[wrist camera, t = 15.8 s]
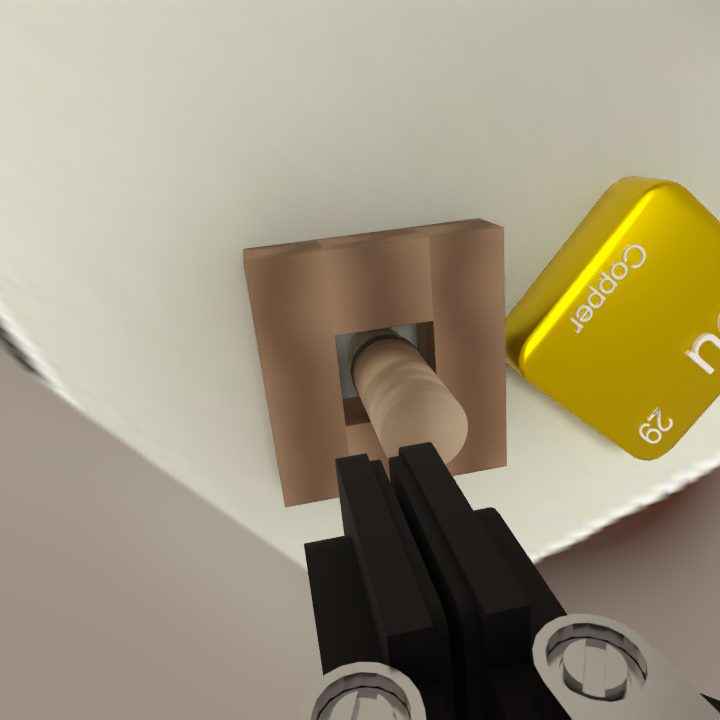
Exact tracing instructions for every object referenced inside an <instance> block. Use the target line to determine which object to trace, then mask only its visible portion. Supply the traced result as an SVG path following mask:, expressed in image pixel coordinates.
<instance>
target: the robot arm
mask: <svg viewBox="0 0 720 720" xmlns="http://www.w3.org/2000/svg"><path fill="white" fill-rule="evenodd" d="M335 466H336V474H337V481H338V489H339V497H340V504H341V512H342V520H343V527H344V535H345V536H341V537H336V538H331V539H326V540H321V541H316V542H311V543H306V544H304V548H305V554H306V561H307V568H308V575H309V582H310V588H311V595H312V602H313V609H314V615H315V622H316V629H317V635H318V642H319V649H320V655H321V663H322V670H323V677H322V678H321V679H320V680H319V681H317V682H316V683H315V684H314V685H313V686H312V687H311V688H310V690H309V692H308V693H307V695H306V697H305V698H304V700H303V702H302V704H301V708H300V712H299V717H298V720H720V701H719V700H716V699H713V698H711V697H708V696H706V695H703V694H701V693H699V692H698V691H697V690H696V689H695V688H694V687H692V685H690V683H688V682H687V681H686V680H685V679H684V678H683V677H682V676H681V675H680V674H679V673H678V672H677V671H676V670H675V669H674V668H673V667H672V666H671V665H670V664H669V663H668V662H667V661H666V660H665V659H664V658H663V657H662V656H661V655H660V654H659V653H658V652H657V651H656V650H655V649H654V648H653V647H652V646H651V645H650V644H649V643H648V642H647V641H646V640H645V639H643V638H642V637H641V636H640V635H638V634H637V633H636V632H634V631H633V630H632V629H631V628H629V627H627V626H625V625H623V624H621V623H619V622H617V621H614V620H613V619H609V618H605V617H601V616H597V615H593V614H571V615H567V614H566V612H565V611H564V609H563V608H562V606H561V605H560V603H559V602H558V600H557V599H556V597H555V596H554V594H553V593H552V592H551V590H550V589H549V587H548V585H547V584H546V582H545V581H544V579H543V578H542V576H541V575H540V574H539V572H538V571H537V569H536V567H535V566H534V564H533V563H532V561H531V560H530V559H529V557H528V556H527V554H526V553H525V551H524V550H523V548H522V547H521V545H520V544H519V542H518V541H517V539H516V538H515V536H514V535H513V533H512V532H511V530H510V529H509V527H508V526H507V524H506V523H505V521H504V520H503V518H502V517H501V515H500V514H499V513H498V512H497V511H496V509H494V508H492V507H490V508H484V509H479V510H474V511H473V509H472V508H471V506H470V504H469V503H468V501H467V499H466V498H465V496H464V495H463V493H462V491H461V490H460V488H459V486H458V485H457V483H456V481H455V480H454V478H453V477H452V475H451V473H450V472H449V470H448V468H447V467H446V465H445V463H444V462H443V460H442V458H441V457H440V455H439V454H438V452H437V450H436V449H435V447H434V445H433V444H432V443H431V442H426V443H420V444H415V445H409V446H403V447H399V452H398V456H395V457H389V474H390V481H389V479H388V476H387V474H386V471H385V469H384V467H383V464H382V462H381V460H380V459H378V460H373V461H370V460H369V457H368V455H367V453H364V454H359V455H353V456H347V457H342V458H336V459H335Z"/></svg>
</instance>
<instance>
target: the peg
mask: <svg viewBox="0 0 720 720" xmlns="http://www.w3.org/2000/svg"><path fill="white" fill-rule="evenodd" d="M348 358H349V362H350V364H351V376H352V380H353V384H354V386H355V389H356V391H357V393H358V395H359V396H360V398H361V400H362V403H363V405H364V407H365V409H366V412H367V414H368V416H369V418H370V421H371V423H372V425H373V427H374V430H375V432H376V434H377V437H378V439H379V441H380V443H381V446H382V448H383V450H384V452H385V454H386V456H387V457H388V459H389V457H395V456H398V452H399V447H403V446H409V445H415V444H420V443H426V442H431V443H432V444H433V445H434V447H435V449H436V450H437V452H438V454H439V455H440V457H441V458H442V460H443V462H444V463H445V464H447V463H448V462H450V461H451V460H452V459H453V458H454V457H455V456H456V455H457V454H458V453H459V451H460V450H461V448H462V447H463V445H464V443H465V440H466V437H467V432H468V421H467V417H466V414H465V412H464V410H463V408H462V406H461V405H460V404H459V403H458V401H457V400H456V399H455V398H454V396H453V395H452V394H451V393H450V391H449V390H448V389H447V388H446V386H445V385H444V384H443V383H442V381H441V380H440V379H439V378H438V376H437V375H436V374H435V373H434V371H433V370H432V369H431V368H430V366H429V365H428V364H427V363H426V361H425V360H424V359H423V357H422V355H421V354H420V352H419V351H418V350H417V349H416V348H415V346H413V345H412V344H411V343H410V342H409V341H408V340H406V339H405V338H403V337H400V336H399V335H398V334H397V332H396V331H394V330H393V329H391V328H390V327H389V328H382V329H375V330H369V331H362V332H358V333H357V334H356V335H355V336H354V337H353V339H352V340H351V342H350V345H349V349H348Z"/></svg>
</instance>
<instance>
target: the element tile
mask: <svg viewBox="0 0 720 720" xmlns="http://www.w3.org/2000/svg"><path fill="white" fill-rule="evenodd" d="M505 362H506V363H507V364H508V365H509V366H510V367H512V368H513V369H514V370H515V371H516V372H517V373H519V374H520V375H521V376H522V377H523V378H524V379H525V380H527V381H528V382H529V383H531V384H532V385H533V386H535V387H536V388H538V389H539V390H540V391H542V392H543V393H545V394H546V395H547V396H549V397H550V398H552V399H553V400H554V401H556V402H557V403H559V404H560V405H561V406H563V407H564V408H566V409H567V410H568V411H570V412H571V413H573V414H574V415H575V416H577V417H578V418H580V419H581V420H582V421H584V422H585V423H587V424H588V425H589V426H591V427H592V428H594V429H595V430H596V431H598V432H599V433H601V434H602V435H603V436H605V437H606V438H608V439H609V440H611V441H612V442H613V443H615V444H616V445H618V446H619V447H620V448H622V449H623V450H625V451H626V452H627V453H629V454H630V455H632V456H633V457H635V458H638V459H641V460H648V461H649V460H653V459H658V458H659V457H661V456H663V455H664V454H666V453H667V452H668V451H670V450H671V449H672V448H673V447H674V446H675V445H676V443H677V442H678V441H679V440H680V439H681V438H682V437H683V436H684V434H685V433H686V432H687V431H688V430H689V429H690V428H691V426H692V425H693V424H694V423H695V422H696V421H697V420H698V419H699V417H700V416H701V415H702V414H703V413H704V412H705V411H706V410H707V408H708V407H709V406H710V405H711V404H712V403H713V402H714V401H715V399H716V398H717V397H718V396H719V395H720V222H719V221H718V220H717V219H716V218H715V217H714V216H713V215H712V214H711V213H710V212H709V211H708V210H707V209H706V208H705V207H704V206H703V205H702V204H701V203H700V202H699V201H698V200H697V199H696V198H695V197H694V196H693V195H692V194H691V193H690V192H689V191H688V190H687V189H686V188H684V187H683V186H681V185H680V184H678V183H675V182H672V181H668V180H660V179H650V178H641V177H628V178H622V179H621V180H619V181H618V182H616V183H614V184H613V185H612V186H611V187H610V188H609V189H608V190H607V191H606V192H605V193H604V194H603V195H602V197H601V198H600V199H599V200H598V202H597V203H596V204H595V206H594V207H593V208H592V209H591V211H590V212H589V213H588V215H587V216H586V217H585V218H584V220H583V221H582V222H581V223H580V225H579V226H578V227H577V229H576V230H575V231H574V232H573V234H572V235H571V236H570V237H569V239H568V240H567V241H566V243H565V244H564V245H563V246H562V248H561V249H560V250H559V251H558V253H557V254H556V255H555V257H554V258H553V259H552V260H551V262H550V263H549V264H548V265H547V267H546V268H545V269H544V271H543V272H542V273H541V274H540V276H539V277H538V278H537V280H536V281H535V282H534V283H533V285H532V286H531V287H530V288H529V290H528V291H527V292H526V294H525V295H524V296H523V297H522V299H521V300H520V301H519V302H518V304H517V305H516V306H515V308H514V309H513V310H512V311H511V313H510V314H509V315H508V316H507V318H506V319H505Z"/></svg>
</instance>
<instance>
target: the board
mask: <svg viewBox="0 0 720 720" xmlns="http://www.w3.org/2000/svg"><path fill="white" fill-rule="evenodd" d="M243 262H244V268H245V274H246V280H247V286H248V291H249V297H250V303H251V309H252V315H253V321H254V327H255V333H256V338H257V344H258V350H259V356H260V362H261V368H262V374H263V380H264V385H265V391H266V397H267V403H268V409H269V415H270V421H271V427H272V432H273V438H274V444H275V450H276V456H277V462H278V468H279V474H280V479H281V485H282V491H283V497H284V503H285V507H290V506H295V505H301V504H306V503H311V502H317V501H322V500H327V499H333V498H338V497H339V489H338V481H337V474H336V466H335V459H336V458H342V457H347V456H353V455H359V454H364V453H367V455H368V457H369V460H370V461H373V460H378V459H380V460H381V462H382V464H383V467H384V469H385V471H386V474H387V476H388V479H389V481H390V474H389V459H388V457H387V456H386V454H385V452H384V450H383V448H382V446H381V443H380V441H379V439H378V437H377V434H376V432H375V430H374V427H373V425H372V423H371V421H370V418H369V416H368V414H367V412H366V409H365V407H364V405H363V403H362V400H361V398H360V397H355V398H349V399H342V391H341V383H340V374H339V366H338V358H337V350H336V341H335V336H336V335H343V334H349V333H356V332H362V331H369V330H375V329H382V328H389V327H395V326H402V325H408V324H415V323H417V326H418V340H419V352H420V354H421V355H422V357H423V359H424V360H425V361H426V363H427V364H428V365H429V366H430V368H431V369H432V370H433V371H434V373H435V374H436V375H437V376H438V378H439V379H440V380H441V381H442V383H443V384H444V385H445V386H446V388H447V389H448V390H449V391H450V393H451V394H452V395H453V396H454V398H455V399H456V400H457V401H458V403H459V404H460V405H461V406H462V408H463V410H464V412H465V414H466V417H467V421H468V432H467V437H466V440H465V443H464V445H463V447H462V448H461V450H460V451H459V453H458V454H457V455H456V456H455V457H454V458H453V459H452V460H451V461H450V462H448V463H447V464H445V465H446V467H447V468H448V470H449V472H450V473H451V475H452V476H456V475H461V474H466V473H472V472H477V471H482V470H488V469H493V468H498V467H504V466H507V449H506V373H505V298H504V227H501V226H499V225H496V224H493V223H490V222H488V221H485V220H482V219H479V218H478V219H471V220H463V221H455V222H448V223H440V224H432V225H425V226H417V227H410V228H402V229H394V230H387V231H379V232H371V233H364V234H356V235H348V236H341V237H333V238H325V239H318V240H310V241H303V242H295V243H287V244H280V245H272V246H264V247H257V248H249V249H243Z"/></svg>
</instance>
